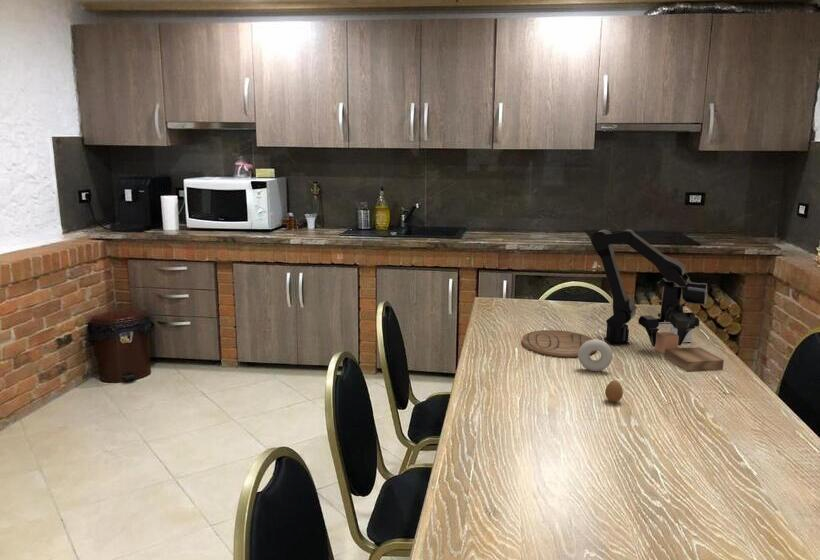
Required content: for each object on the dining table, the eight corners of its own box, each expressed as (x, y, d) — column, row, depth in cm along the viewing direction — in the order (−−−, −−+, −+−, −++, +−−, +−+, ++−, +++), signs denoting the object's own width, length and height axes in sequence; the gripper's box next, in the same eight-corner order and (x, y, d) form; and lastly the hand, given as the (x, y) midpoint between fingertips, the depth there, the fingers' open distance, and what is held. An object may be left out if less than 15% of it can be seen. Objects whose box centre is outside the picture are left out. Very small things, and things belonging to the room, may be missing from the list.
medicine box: (690, 343, 219) (693, 318, 217) (677, 342, 219) (680, 318, 217) (681, 335, 226) (684, 312, 224) (669, 335, 226) (671, 312, 224)
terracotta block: (663, 354, 207) (664, 336, 206) (654, 349, 212) (656, 331, 211) (677, 353, 208) (679, 336, 207) (668, 348, 213) (670, 331, 211)
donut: (577, 371, 191) (579, 339, 188) (576, 367, 194) (579, 336, 192) (611, 374, 188) (614, 342, 186) (610, 370, 192) (613, 339, 190)
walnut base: (686, 371, 192) (687, 361, 191) (664, 357, 204) (665, 348, 203) (722, 369, 194) (723, 360, 193) (698, 356, 205) (699, 347, 205)
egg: (600, 399, 170) (602, 378, 169) (614, 397, 172) (616, 376, 171) (611, 406, 166) (613, 384, 165) (625, 403, 168) (627, 382, 167)
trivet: (590, 336, 225) (591, 331, 225) (604, 361, 201) (605, 355, 200) (519, 333, 227) (519, 328, 227) (524, 357, 203) (525, 351, 203)
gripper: (658, 307, 197) (653, 355, 200) (712, 305, 200) (706, 352, 203) (639, 298, 207) (635, 344, 211) (691, 297, 211) (686, 341, 214)
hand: (666, 346), depth 210 cm, fingers open, 9 cm apart
